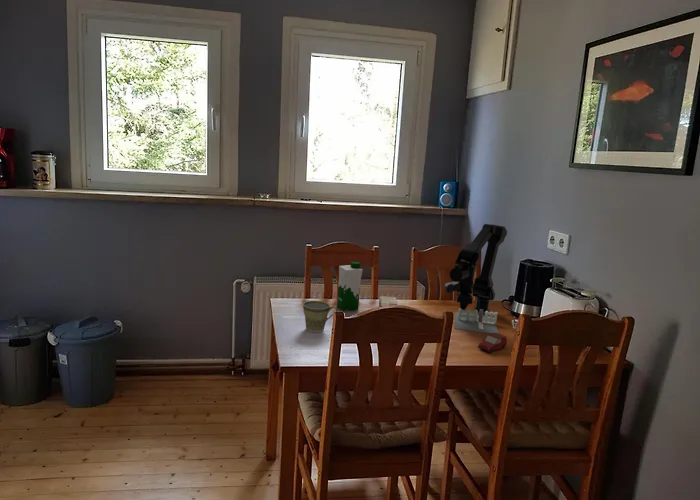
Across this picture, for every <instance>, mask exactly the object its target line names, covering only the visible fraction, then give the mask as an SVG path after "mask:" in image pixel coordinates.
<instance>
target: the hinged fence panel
mask: <svg viewBox="0 0 700 500" xmlns="http://www.w3.org/2000/svg"><path fill="white" fill-rule="evenodd" d="M457 312H458V319H461V317H466V320H469V318H473V320H474V321H476V319H477V315H479V312H478V311H477V310H475V311H474V310H470V308H466V309H465V310H462V309H461V308H458V311H457ZM461 312H463V313H466V315H463V314H461ZM469 314H474V315H469Z"/></svg>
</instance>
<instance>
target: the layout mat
mask: <svg viewBox="0 0 700 500" xmlns="http://www.w3.org/2000/svg"><path fill="white" fill-rule="evenodd" d="M458 312H459V311H454V329H456V330H460V331H461V330H462V331H469V332H477V333H481V334H482V333H483V334H491V333H495V332H496V333H498V334H499V330H498V327H497V322H496V323H494V321H492V322H491V323H490V322H489V320H487V322H484V317H485V315H483V319H482V322H478V319H479V314H477V319H476V321H474V320H473V318H469V320H466V317H461V319H458ZM461 314H463V315H466V313H461ZM469 315H474V313H469ZM488 317H490V315H488ZM492 318H494V316H492Z"/></svg>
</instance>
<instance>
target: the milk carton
mask: <svg viewBox="0 0 700 500" xmlns="http://www.w3.org/2000/svg"><path fill="white" fill-rule="evenodd" d="M363 270H364V269H363V268H362V267H361V262H360V261H350V264H348V265H347V264H345V265H339V266H338V285H337V286H338V287H337V298H336V299H337V300H336V306H337V307H338V308H340V309H341V310H342V311H356V310H358V311H359V306H360V305H359V304H360V294H361V293H360V292H361V282H362V281H361V279H362V275H363V272H364V271H363Z"/></svg>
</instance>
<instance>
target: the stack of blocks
mask: <svg viewBox="0 0 700 500" xmlns="http://www.w3.org/2000/svg"><path fill="white" fill-rule="evenodd" d="M378 300H379V301H378V308H379V307H382V306H392V305H399V304H398V300H397V297H396V296H384V295H380V296H379V298H378Z"/></svg>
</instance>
